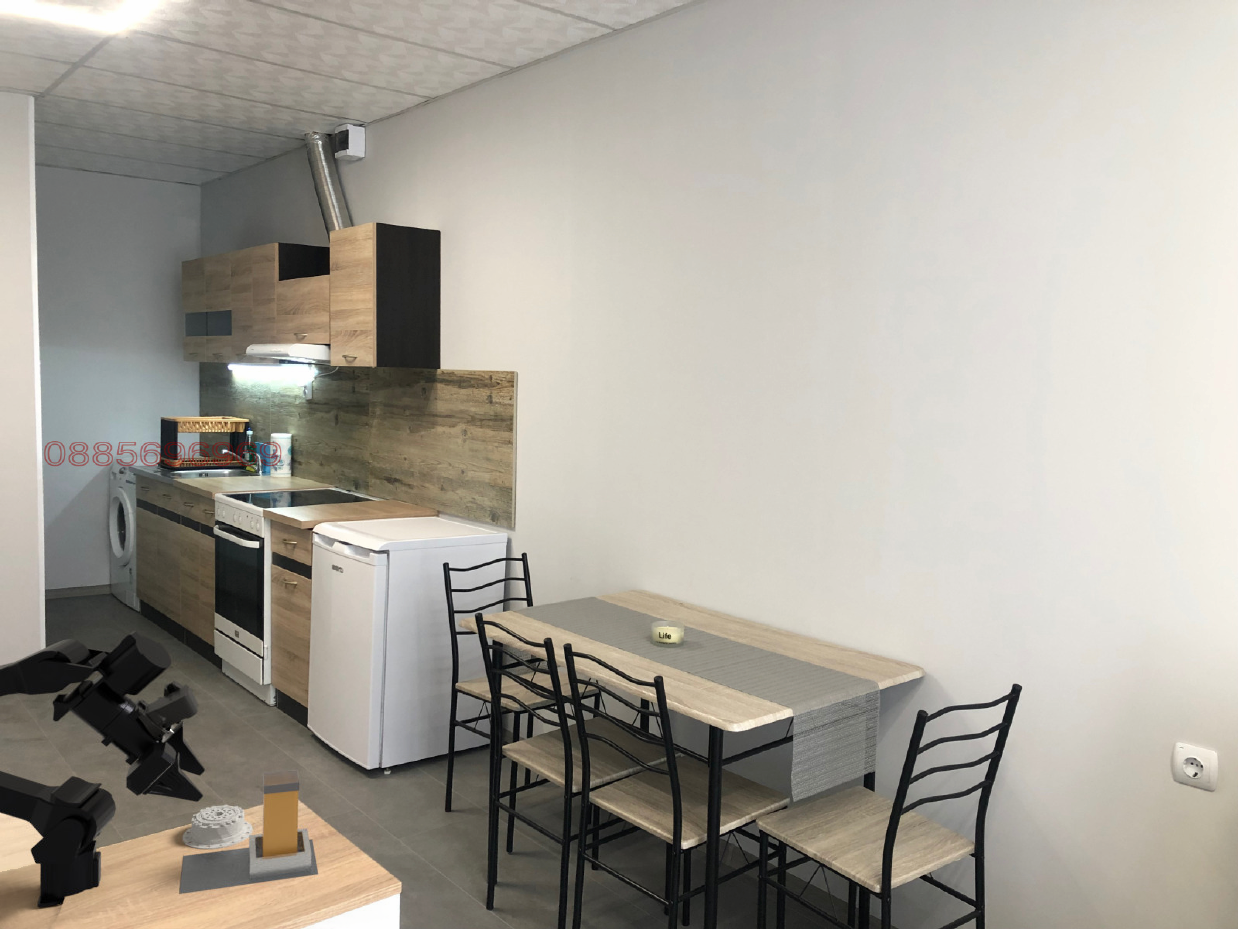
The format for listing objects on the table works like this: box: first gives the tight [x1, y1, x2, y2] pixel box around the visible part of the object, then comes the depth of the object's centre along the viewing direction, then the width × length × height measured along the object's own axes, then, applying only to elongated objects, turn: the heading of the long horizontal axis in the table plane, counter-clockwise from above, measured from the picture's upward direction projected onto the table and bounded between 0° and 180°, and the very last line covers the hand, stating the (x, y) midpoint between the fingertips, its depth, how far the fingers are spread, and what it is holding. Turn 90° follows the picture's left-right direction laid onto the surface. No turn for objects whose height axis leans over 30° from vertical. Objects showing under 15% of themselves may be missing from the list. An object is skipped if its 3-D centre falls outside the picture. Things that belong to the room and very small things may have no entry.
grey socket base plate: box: [179, 827, 319, 895], centre depth 136 cm, size 18×11×4 cm, turn 112°
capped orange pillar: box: [262, 769, 300, 857], centre depth 137 cm, size 5×5×12 cm
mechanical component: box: [182, 804, 254, 850], centre depth 145 cm, size 10×4×10 cm
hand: (201, 785), depth 133 cm, fingers open, 9 cm apart
